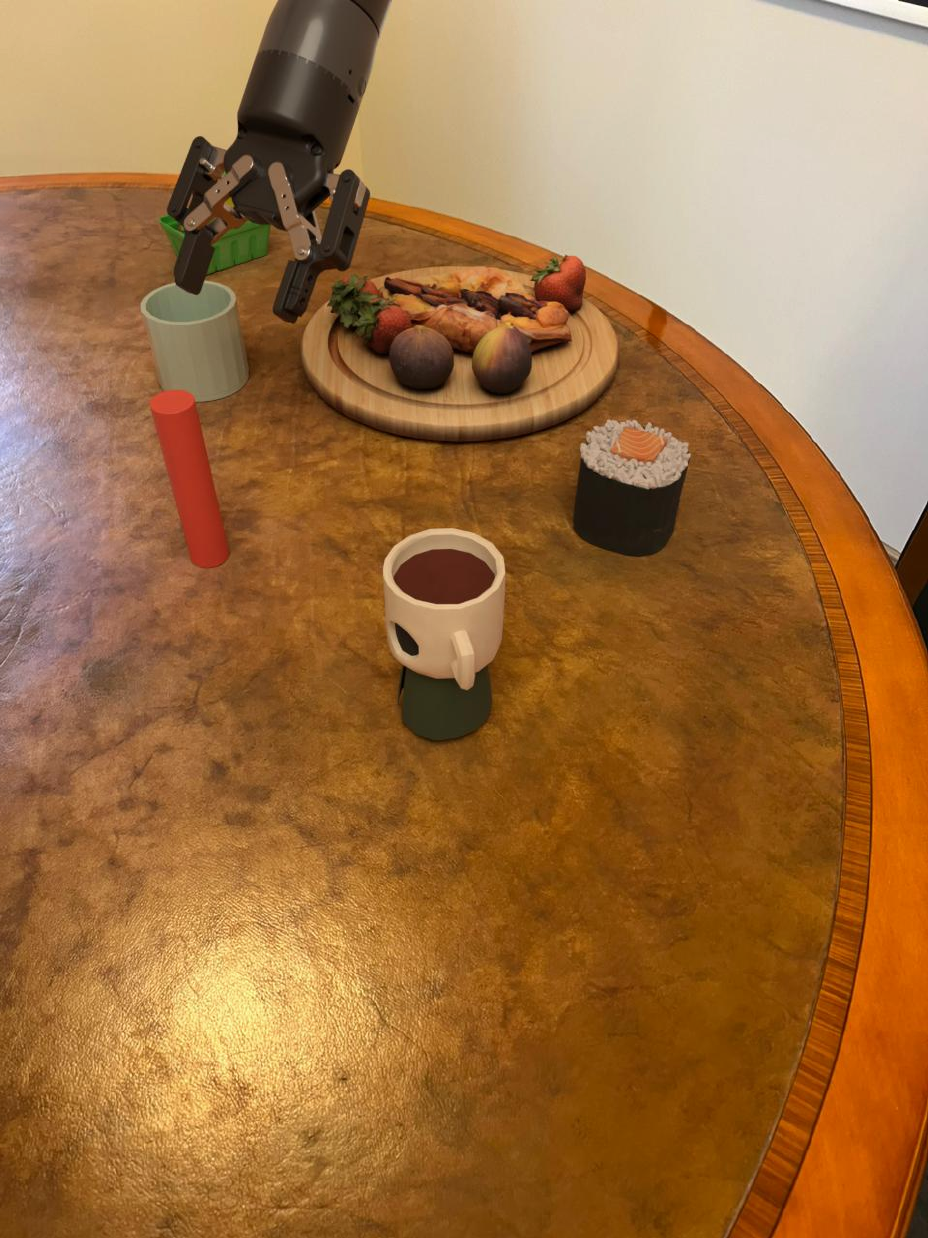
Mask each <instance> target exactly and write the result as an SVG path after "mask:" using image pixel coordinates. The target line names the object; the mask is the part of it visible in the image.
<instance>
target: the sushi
mask: <svg viewBox="0 0 928 1238" xmlns="http://www.w3.org/2000/svg"><path fill="white" fill-rule="evenodd" d="M672 435H673V433H672V432H670V431H669V432H666V430H665V428H664V427H663V428H659V427H658V426H655V427H653V424H652V423H651V422H650V421H648V422H647V424H646V425H645V426H642V425H641V424H640V423H639V422H638V421H637V420H636V419H632V420H629V419H627V420H625V421H620V422H618V421H617V420H615V419H610V418H609V419H607V420H606V422H605V423H604V424H603V426H602V425H601V426H599V425H594V426H593V429H592V430H591V431H589V430H587V431H586V433H585V436H586V437H585V442H581V443H580V445H579V446H580V448H579V451H580V454H579V455H580V462H579V470H578V478H577V484H576V485H577V486H576V491H575V492H576V493H575V501H574V508H573V516H572V525H573V529H574V531H575V532H576V533H577V534H578V536H579V537H580V538H581V539H583V540H585V542H588V543H589V544H591V545H594V546H596V547H598V548H601V549H605V550H608V551H611V552H614V553H617V554H620V555H622V556H627V557H635V558H641V557H647V556H653V555H655V554H657V553H659V552H660V551H661V550H663V549H664V548H665V547H666V546H667V544H668V543H669V540H670V539H671V537H672V535H673V533H674V532H675V526H676V521H677V516H678V510H679V505H680V499H681V495H682V492H683V488H684V484H685V480H686V476H687V473H688V469H689V466H690V461H691V457H692V455H691V452H690V451H689V448H688V447H689V446H690V442H687V441H683V442H682V440H679V439H677V438H676V437H674V436H672Z"/></svg>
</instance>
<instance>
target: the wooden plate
mask: <svg viewBox="0 0 928 1238" xmlns="http://www.w3.org/2000/svg"><path fill="white" fill-rule="evenodd" d="M549 261H551V262H550V263H549V262H546V261H544V264H545V265H546V266H545V268H543V269H541V270H540V269H535V268H533V271H535V272H537V273H536V274H534V275H530V274H527V273H522V272H518V271H513V270H507V269H502V268H500V267H494V266H489V267H487V266H485V265H477V266H469V265H468V266H467V265H466V266H464V265H447V266H445V265H443V266H431V267H430V266H429V267H421V268H420V267H419V268H412V269H406V270H401V271H397V272H393V273H392V272H391V273H388V274H385V275H381V276H377V277H374V278H371V279H369V278H370V275H364V276H363V277H360V276H359V275H357V274H355V273H353V274H351V275H348V276H345V277H343V278H342V279H340V280H339V281H338V280H335V283H334V284H333V286H331V287H330V288H331V295H330V297H328V301H326V302H325V303H323V305H322V306H321V307H319V309H318V310H316V312H315V313H314V314H313V315H312V317H311V318H310V319H309V320H308V323H307V325H306V327H305V328H304V330H303V332H302V335H301V339H300V345H299V356H300V363H301V366H302V370H303V372H304V375H305V378H306V379H307V381H308V383H309V384H310V386H311V387H312V388H313V389H314V391H315V392H316V393H317V394H318V396H319V397H320V398H322V399H323V400H324V401H325V402H326V403H327V404H328V405H329V406H331V407H332V408H334V409H335V410H336V411H338V412H340V413H341V414H343V415H344V416H346V417H349V418H350V419H353V420H355V421H356V422H359V423H361V424H363V425H365V426H368V427H371V428H373V429H376V430H378V431H382V432H386V433H390V434H394V435H397V436H403V437H407V438H412V439H413V438H414V439H419V440H430V441H436V442H458V443H459V442H483V441H485V442H486V441H494V440H499V439H508V438H513V437H514V438H515V437H518V436H522V435H527V434H532V433H535V432H538V431H541V430H544V429H547V428H550V427H553V426H556V425H558V424H560V423H562V422H566V421H567V420H569V419H571V418H573V417H575V416H577V415H579V414H580V413H583V411H585V410H586V409H587V408H589V407H590V406H591V405H593V403H595V402H596V401H597V400H598V399H599V398H600V397H601V396H602V395H603V394H604V393H605V391H606V390H607V389H608V388H609V386H610V385H611V384H612V381H613V380H614V378H615V376H616V374H617V371H618V368H619V363H620V355H621V354H620V344H619V340H618V337H617V333H616V331H615V329H614V327H613V326H612V325H611V322H610V321H609V319H608V318H607V317H606V316H605V315H604V313H602V311H600V310H599V308H598V307H597V306H596V305H594V304H593V303H592V302H591V301H589V300H587V299H586V298H584V297H583V296H584V290H585V286H586V281H587V270H586V267H585V264H584V262H583V261H582V260H581V258H579V257H578V256H577V255H567V254H564V255H563V257H562V259H561V261H559V259H558V258H557V255H555V257H554V258H549Z"/></svg>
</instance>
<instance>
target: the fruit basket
mask: <svg viewBox="0 0 928 1238" xmlns="http://www.w3.org/2000/svg"><path fill="white" fill-rule="evenodd" d="M223 175H224V176H225V175H226V173H225V171H224V172H223ZM218 181H219V180H218ZM225 203H226V204H227V205H228V206H230V207H234V205H233V202H232V199H231V197H230V198H229V199H228V200H227V201H226V202H225ZM215 218H216V217H215ZM215 218H213V219H212V220H211V221H213V220H214V219H215ZM157 221H158V223H159V225H160V227H161V228H162V230H163V231H164V233H165V235H166V237H167V238H168V241H169V243H170V245H171V247H172V249H173V251H174V253H175V255H176V258H177V257H178V256H179V255H178V254H179V251H180V248H181V245H182V242H183V239H184V236H185V231H184V228H183V226H182V225H180V224H179V223H178V222H177V221H176V220H174V219H173V218H172V217H170V216H169V215H168V214H167V215H163V216H160V217H159V218H158V219H157ZM211 221H210V222H211ZM210 222H209V223H210ZM209 223H208V224H209ZM271 226H272V225H271V224H267V225H259V224H255V223H252V222H250V221H249V220H248V221H247V222H246V223H245V224H244V225H243V226H241V227H240V228H238V229H231V230H229V231H228V232H227V233H226V234H225V235H224V236H222V237H221V238H220V239H219V240H218V241H217V242H216V243H214V244H213V245H211V246H213V247H214V248H215V251H214V254H213V257H212V260H211V263H210V266H209V269H208V272H207V275H211V274H213V273H215V272H218V271H222V270H227V269H230V268H232V267H234V266H237V265H241V264H244V263H247V262H250V261H251V260H255V259H259V258H262V257H264V256H267V253H268V247H269V241H270V234H271ZM207 275H206V276H207Z"/></svg>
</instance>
